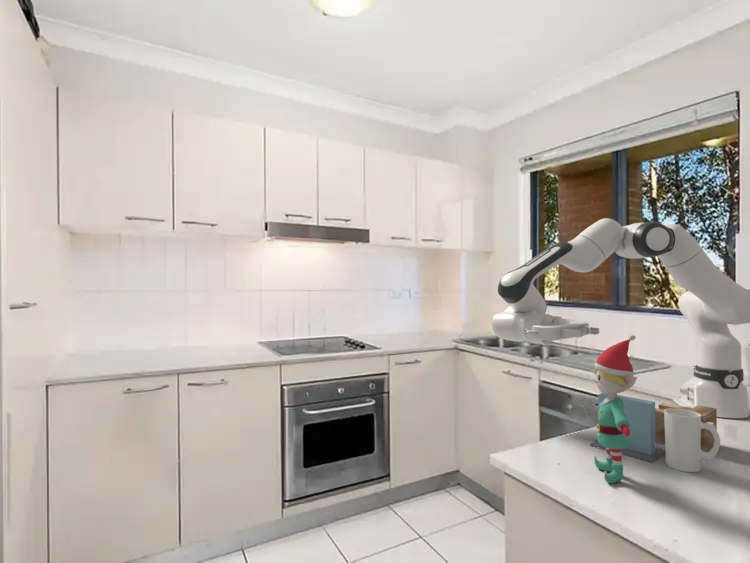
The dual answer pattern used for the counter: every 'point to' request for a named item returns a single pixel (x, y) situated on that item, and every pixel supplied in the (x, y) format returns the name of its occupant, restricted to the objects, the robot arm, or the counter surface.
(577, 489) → the counter surface
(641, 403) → the blue rectangular block
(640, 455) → the mat
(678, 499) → the counter surface
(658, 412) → the slot box
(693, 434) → the mug
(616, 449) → the toy
